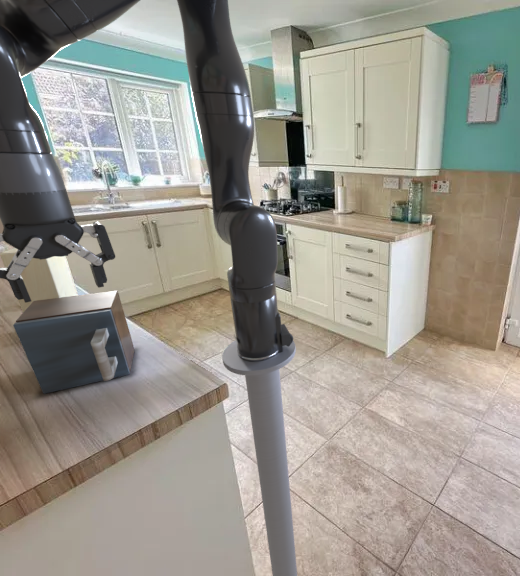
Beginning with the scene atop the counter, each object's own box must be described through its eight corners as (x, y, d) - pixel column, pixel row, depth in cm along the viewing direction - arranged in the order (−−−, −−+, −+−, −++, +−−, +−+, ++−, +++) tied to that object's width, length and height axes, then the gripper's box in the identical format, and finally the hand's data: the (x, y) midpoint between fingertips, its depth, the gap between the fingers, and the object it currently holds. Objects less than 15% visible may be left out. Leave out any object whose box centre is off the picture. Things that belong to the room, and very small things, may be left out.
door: (126, 391, 62) (104, 324, 57) (32, 414, 56) (-3, 341, 50) (130, 371, 68) (110, 308, 62) (45, 390, 62) (15, 322, 56)
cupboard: (130, 371, 68) (110, 307, 62) (45, 390, 62) (15, 321, 56) (134, 349, 75) (117, 290, 69) (59, 364, 69) (33, 300, 63)
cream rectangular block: (90, 321, 85) (64, 243, 77) (73, 336, 79) (43, 252, 71) (53, 324, 83) (22, 244, 75) (33, 339, 77) (-3, 253, 69)
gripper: (-54, 193, 38) (1, 315, 45) (100, 187, 48) (127, 287, 55) (-53, 186, 43) (-3, 298, 49) (88, 182, 53) (115, 276, 59)
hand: (66, 292), depth 52 cm, fingers open, 8 cm apart
